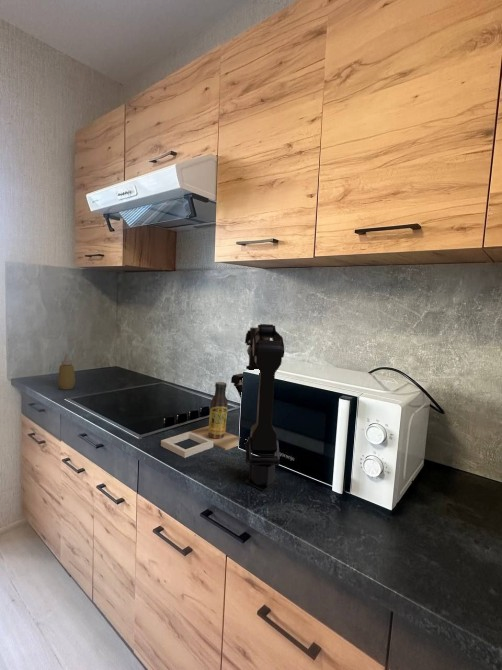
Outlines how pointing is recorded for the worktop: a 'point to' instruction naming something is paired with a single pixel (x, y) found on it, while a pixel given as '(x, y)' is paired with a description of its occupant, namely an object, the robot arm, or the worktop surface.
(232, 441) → the wooden board
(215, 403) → the sauce bottle
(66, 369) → the squeeze bottle
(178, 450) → the collar
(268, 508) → the worktop surface
